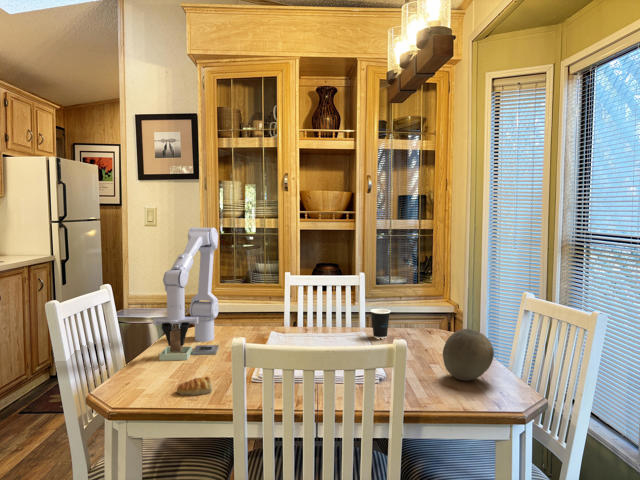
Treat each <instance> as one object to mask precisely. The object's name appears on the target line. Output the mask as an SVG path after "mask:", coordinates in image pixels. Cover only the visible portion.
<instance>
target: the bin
mask: <svg viewBox="0 0 640 480" xmlns="http://www.w3.org/2000/svg"><path fill="white" fill-rule="evenodd" d="M192 351H193V346H192V345H188V346H184V345H183V349H182V350H181V352H170V346H165V347H164V349H163V350H162V351H160V353H159V355H158V356H159V361H160V362H162V361H163V362H165V361H168V362H169V361H188V360H189V359H190V357H191V355H192Z"/></svg>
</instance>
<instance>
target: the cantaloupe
mask: <svg viewBox="0 0 640 480" xmlns="http://www.w3.org/2000/svg"><path fill="white" fill-rule="evenodd" d="M494 355H495V351H494V347H493V345H492V342H491V341H490V340H489V338H488V337H487V336H486V335H484V333H482V332H480V331H477V330H475V329H471V328H461V329H458V330H456V331H454V332H453V333H452V334H451V335H449V337H448V338H447V339H446V341H445V344H444V346H443V349H442V359H443V360H442V361H443V364H444V367H445V370H446V371H447V372H448V373H449V374H450V376H452V377H454V378H455V379H457V380H459V381H463V382H464V381H473V380H476V379H479V378H480V377H482V376H483V375H484V374H485V373H486V372H487V371H488V370H489V368H490V367H491V365H492V362H493V360H494Z"/></svg>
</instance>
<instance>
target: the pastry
mask: <svg viewBox="0 0 640 480" xmlns="http://www.w3.org/2000/svg"><path fill="white" fill-rule="evenodd" d="M212 391H213V385H212V381H211V377H210V376H208V375H207V376H206V377H195V378H193V379H191V380H189V381H185V382H184V383H181V384H179V385H178V386H177V388H176V392H177V393H178V394H179V395H182V396H199V395H206V394H207V395H208V394H211V393H212Z"/></svg>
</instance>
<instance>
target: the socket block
mask: <svg viewBox="0 0 640 480" xmlns="http://www.w3.org/2000/svg"><path fill="white" fill-rule="evenodd" d="M219 348H220V344H210V345H209V344H204V345H203V344H202V345H201V344H198V345H195V347H194V349H192V354H191V355H192V356H199V355H200V356H206V355H207V356H208V355H209V356H211V355H212V356H213V355H214V356H215V355H217V352H218V351H219Z"/></svg>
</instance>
